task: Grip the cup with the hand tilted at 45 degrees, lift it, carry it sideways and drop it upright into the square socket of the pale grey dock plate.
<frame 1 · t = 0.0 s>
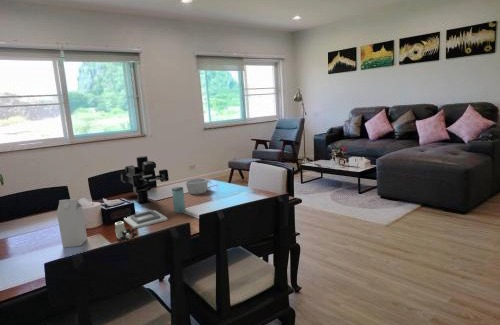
hand: (156, 180, 176), 17 cm above the table, tool horizontal, fingers open, 9 cm apart
milk carton: (75, 244, 145), on the table
ramekin: (197, 192, 214), on the table
valve: (124, 240, 146), on the table
cup: (179, 211, 179), on the table
dock: (145, 219, 168), on the table
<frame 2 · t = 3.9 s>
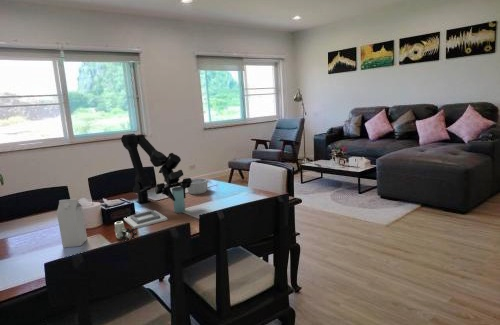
hand: (179, 199, 176), 7 cm above the table, tool tilted 45°, fingers closed on cup, 5 cm apart
cup: (179, 211, 179), on the table, touching gripper
when the fingers open (8 cm above the table, at t = 9.0 s): cup stays where it is, resting on dock.
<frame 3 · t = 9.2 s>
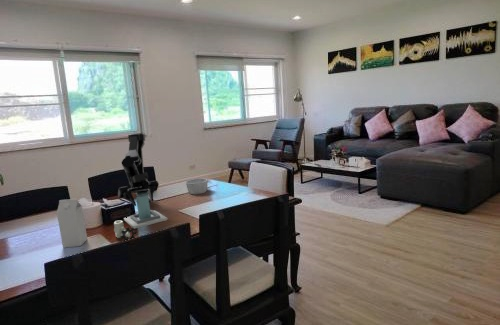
hand: (144, 203, 166), 9 cm above the table, tool tilted 45°, fingers open, 8 cm apart
cup: (145, 217, 168), point 1 cm above the table, touching dock
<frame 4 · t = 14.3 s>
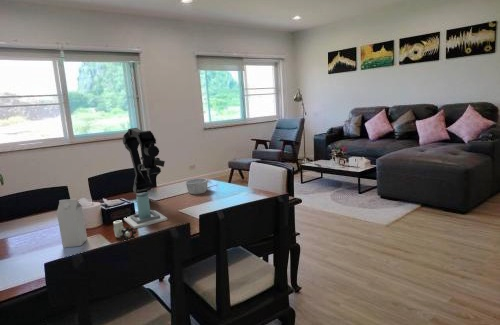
hand: (150, 184, 185), 13 cm above the table, tool pointing down, fingers open, 9 cm apart
at the end: cup 0.1 cm off-centre on the dock, point 1.0 cm above the dock's base; cup tilted 0°; the gripper is holding nothing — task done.
